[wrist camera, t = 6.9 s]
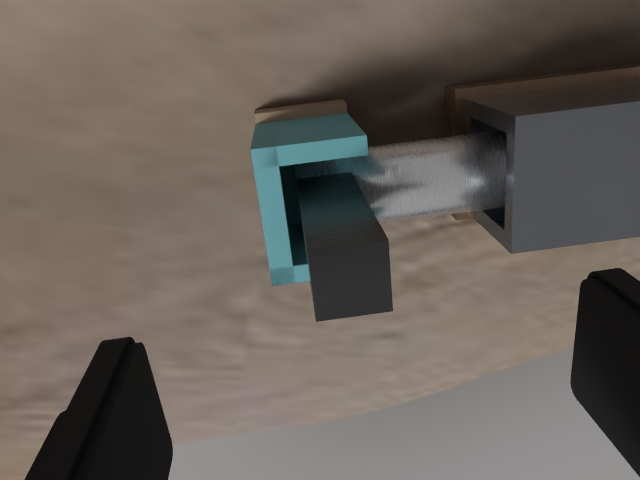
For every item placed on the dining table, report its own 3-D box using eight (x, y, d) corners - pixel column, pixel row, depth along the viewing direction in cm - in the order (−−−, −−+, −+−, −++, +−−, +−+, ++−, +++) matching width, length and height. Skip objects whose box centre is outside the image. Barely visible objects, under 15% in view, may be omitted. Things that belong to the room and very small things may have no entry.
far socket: (342, 99, 28) (365, 122, 21) (353, 223, 30) (377, 281, 23) (254, 109, 27) (248, 136, 20) (273, 234, 30) (274, 295, 23)
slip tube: (523, 120, 26) (692, 180, 16) (521, 189, 27) (674, 289, 17) (291, 149, 26) (304, 231, 15) (301, 218, 27) (318, 338, 16)
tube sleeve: (648, 61, 28) (771, 72, 21) (633, 187, 31) (738, 233, 24) (446, 86, 28) (503, 105, 21) (448, 211, 30) (500, 265, 23)
